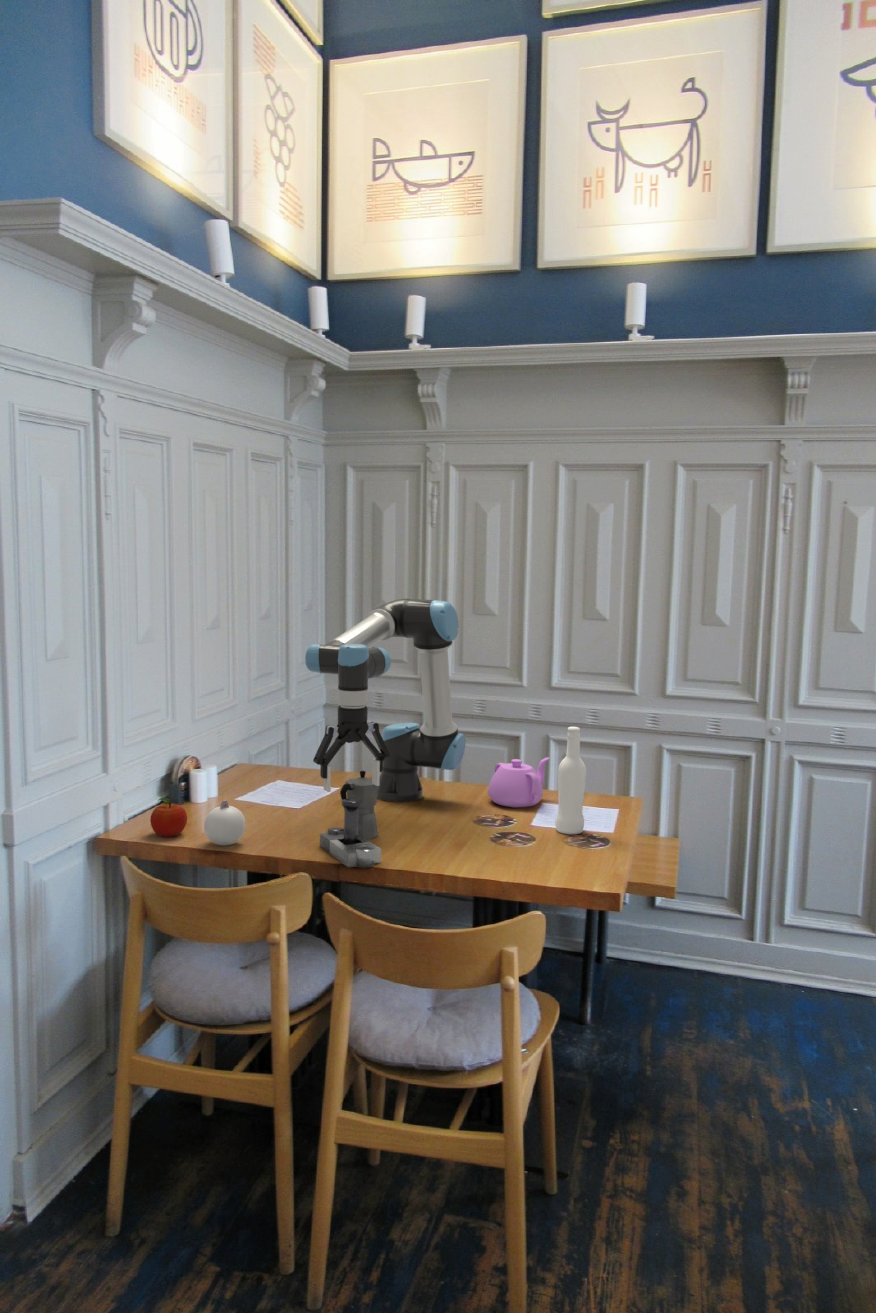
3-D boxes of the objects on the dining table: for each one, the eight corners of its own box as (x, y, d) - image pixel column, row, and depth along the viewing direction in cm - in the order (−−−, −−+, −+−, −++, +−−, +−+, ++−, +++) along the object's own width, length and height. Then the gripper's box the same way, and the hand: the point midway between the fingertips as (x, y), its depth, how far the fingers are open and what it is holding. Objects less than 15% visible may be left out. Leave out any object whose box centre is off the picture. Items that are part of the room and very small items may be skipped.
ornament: (225, 853, 242) (225, 807, 241) (196, 845, 248) (196, 800, 246) (253, 843, 251) (253, 798, 249) (224, 836, 256) (224, 792, 255)
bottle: (586, 828, 273) (591, 726, 270) (580, 836, 266) (586, 730, 262) (558, 825, 276) (563, 723, 272) (552, 832, 268) (557, 728, 265)
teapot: (569, 805, 297) (571, 762, 296) (515, 815, 285) (517, 770, 284) (525, 790, 315) (526, 749, 314) (472, 798, 303) (473, 755, 302)
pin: (363, 855, 243) (365, 802, 242) (345, 858, 241) (346, 804, 239) (355, 850, 248) (356, 797, 246) (336, 852, 245) (338, 799, 244)
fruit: (173, 842, 250) (173, 805, 249) (143, 837, 253) (142, 800, 252) (194, 832, 259) (194, 796, 258) (165, 827, 262) (165, 792, 261)
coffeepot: (363, 826, 269) (364, 763, 267) (389, 832, 264) (391, 769, 262) (327, 838, 256) (328, 773, 254) (353, 846, 251) (355, 779, 249)
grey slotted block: (347, 839, 256) (348, 825, 256) (384, 865, 237) (385, 849, 236) (316, 844, 252) (316, 829, 251) (351, 870, 232) (352, 854, 232)
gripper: (390, 699, 249) (388, 778, 252) (300, 706, 237) (300, 789, 240) (403, 704, 243) (401, 785, 246) (312, 711, 230) (311, 796, 233)
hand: (351, 787), depth 243 cm, fingers open, 13 cm apart
